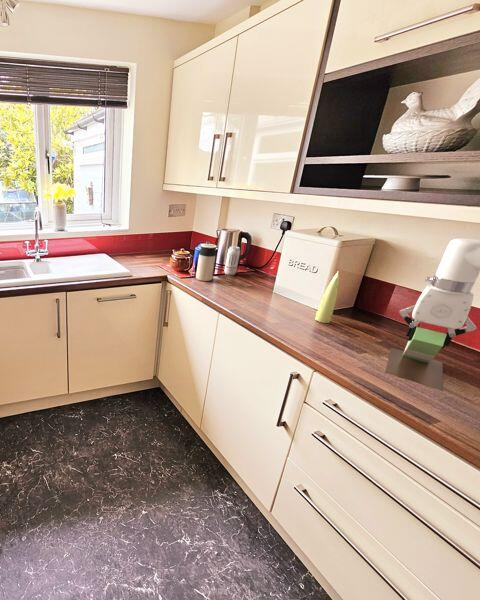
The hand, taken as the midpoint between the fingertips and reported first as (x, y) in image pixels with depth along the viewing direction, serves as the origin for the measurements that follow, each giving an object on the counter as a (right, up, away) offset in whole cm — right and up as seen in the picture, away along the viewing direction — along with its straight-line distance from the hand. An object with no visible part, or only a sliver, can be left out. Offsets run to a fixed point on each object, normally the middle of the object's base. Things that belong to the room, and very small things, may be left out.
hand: (425, 342), depth 98 cm
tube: (-6, +4, +33) cm, 34 cm away
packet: (0, -3, +1) cm, 3 cm away
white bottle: (-18, +27, +88) cm, 94 cm away
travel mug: (-35, +23, +79) cm, 90 cm away
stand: (-1, -8, +3) cm, 9 cm away
